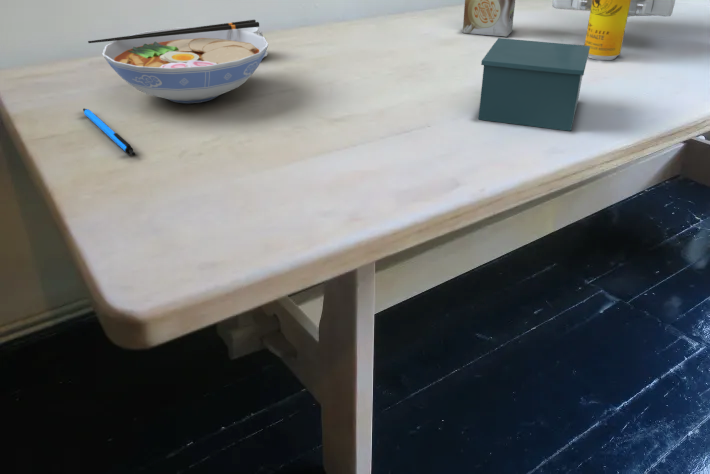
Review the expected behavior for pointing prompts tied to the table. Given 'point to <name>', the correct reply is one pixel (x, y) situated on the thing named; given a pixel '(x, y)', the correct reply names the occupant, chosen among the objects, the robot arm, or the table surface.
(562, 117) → the teal box
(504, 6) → the coffee box
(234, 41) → the ramen bowl
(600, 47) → the beer can
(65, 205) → the table surface
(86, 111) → the pen
